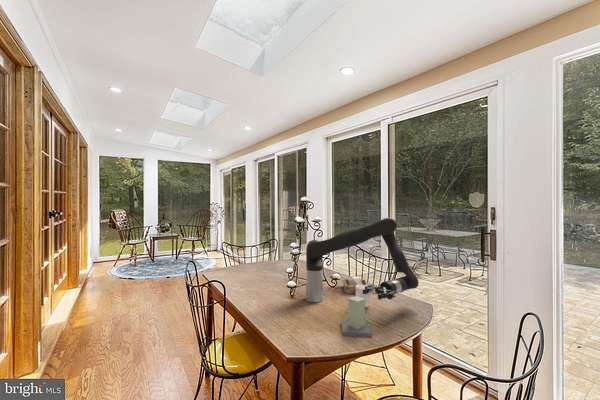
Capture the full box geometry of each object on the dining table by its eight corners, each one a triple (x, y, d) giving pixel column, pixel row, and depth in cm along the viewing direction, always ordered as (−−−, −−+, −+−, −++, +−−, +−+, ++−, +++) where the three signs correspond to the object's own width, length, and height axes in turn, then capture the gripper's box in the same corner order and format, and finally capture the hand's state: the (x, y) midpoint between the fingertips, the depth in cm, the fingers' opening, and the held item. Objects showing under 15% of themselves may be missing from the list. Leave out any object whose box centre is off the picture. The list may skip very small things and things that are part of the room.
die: (351, 287, 195) (344, 277, 191) (363, 281, 194) (356, 271, 190) (354, 296, 187) (347, 285, 183) (367, 290, 186) (360, 279, 183)
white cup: (367, 309, 157) (367, 290, 157) (353, 306, 161) (353, 287, 161) (372, 304, 164) (372, 286, 164) (358, 301, 168) (358, 283, 168)
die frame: (345, 293, 182) (345, 286, 182) (343, 285, 197) (343, 278, 197) (368, 294, 181) (369, 286, 181) (365, 286, 196) (365, 279, 196)
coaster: (342, 335, 128) (342, 332, 128) (341, 323, 140) (341, 320, 140) (371, 336, 127) (371, 333, 127) (367, 324, 139) (367, 321, 139)
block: (357, 329, 131) (357, 301, 130) (348, 325, 135) (348, 298, 134) (364, 326, 134) (365, 299, 133) (356, 322, 138) (356, 296, 137)
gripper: (378, 277, 157) (358, 282, 146) (403, 284, 146) (384, 290, 136) (378, 291, 157) (358, 298, 147) (403, 299, 146) (383, 307, 136)
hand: (370, 294), depth 141 cm, fingers open, 8 cm apart
